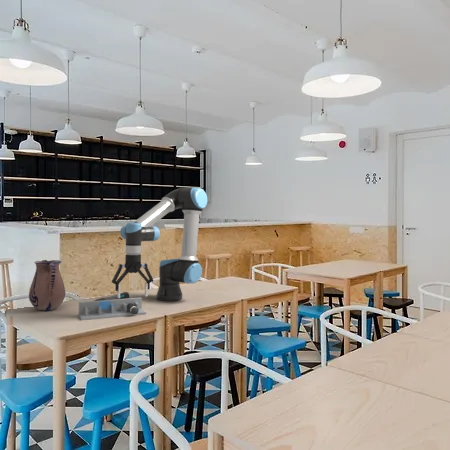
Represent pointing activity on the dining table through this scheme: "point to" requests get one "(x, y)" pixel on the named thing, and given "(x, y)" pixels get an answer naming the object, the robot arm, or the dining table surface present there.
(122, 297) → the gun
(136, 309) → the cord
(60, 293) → the ceramic pitcher
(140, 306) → the spiked grey rail
